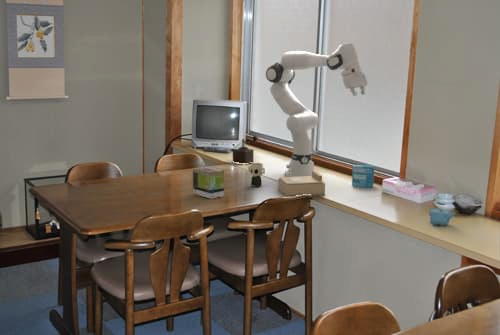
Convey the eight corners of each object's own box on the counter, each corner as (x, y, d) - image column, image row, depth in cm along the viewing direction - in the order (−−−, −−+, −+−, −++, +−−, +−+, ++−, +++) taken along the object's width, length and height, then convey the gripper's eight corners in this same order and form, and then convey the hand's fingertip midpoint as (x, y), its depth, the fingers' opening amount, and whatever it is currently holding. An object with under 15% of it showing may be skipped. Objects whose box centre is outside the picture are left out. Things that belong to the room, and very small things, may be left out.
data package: (351, 186, 369) (352, 166, 366) (352, 185, 373) (353, 164, 371) (373, 187, 366) (374, 167, 364) (373, 186, 371) (374, 165, 368)
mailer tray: (278, 190, 359) (278, 178, 358) (316, 188, 364) (316, 177, 362) (285, 196, 344) (285, 185, 343) (324, 195, 349) (325, 183, 348)
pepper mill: (245, 165, 426) (245, 138, 423) (232, 163, 433) (232, 137, 429) (259, 162, 439) (259, 135, 435) (246, 160, 445) (246, 134, 441)
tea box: (224, 197, 343) (224, 170, 340) (209, 200, 337) (209, 172, 334) (207, 192, 354) (207, 165, 351) (192, 194, 348) (192, 168, 345)
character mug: (244, 186, 368) (245, 164, 365) (251, 184, 374) (251, 162, 371) (261, 188, 362) (261, 166, 360) (267, 186, 368) (268, 164, 366)
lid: (279, 178, 358) (279, 171, 357) (315, 176, 362) (315, 170, 361) (286, 184, 343) (286, 177, 342) (324, 182, 347) (324, 176, 347)
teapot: (456, 225, 295) (457, 209, 294) (453, 228, 290) (454, 212, 288) (430, 221, 301) (431, 205, 300) (426, 224, 296) (427, 208, 294)
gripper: (357, 72, 372) (363, 95, 372) (339, 73, 356) (345, 97, 356) (366, 68, 368) (372, 92, 368) (348, 70, 352) (355, 94, 352)
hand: (359, 95), depth 362 cm, fingers open, 8 cm apart
